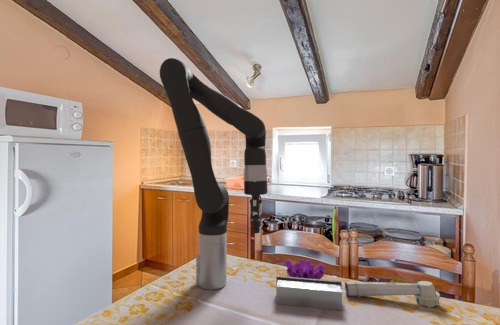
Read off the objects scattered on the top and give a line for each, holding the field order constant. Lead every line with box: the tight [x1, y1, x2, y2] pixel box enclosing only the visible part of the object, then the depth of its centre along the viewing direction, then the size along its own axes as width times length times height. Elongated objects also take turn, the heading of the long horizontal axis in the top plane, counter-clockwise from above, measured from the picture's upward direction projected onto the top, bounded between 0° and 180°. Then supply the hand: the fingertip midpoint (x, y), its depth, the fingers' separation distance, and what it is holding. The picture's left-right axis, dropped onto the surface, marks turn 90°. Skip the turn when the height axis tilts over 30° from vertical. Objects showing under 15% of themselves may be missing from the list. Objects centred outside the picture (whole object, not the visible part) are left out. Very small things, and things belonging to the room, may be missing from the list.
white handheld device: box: [344, 279, 441, 308], centre depth 84 cm, size 5×7×25 cm
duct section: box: [275, 275, 343, 311], centre depth 82 cm, size 19×6×6 cm, turn 79°
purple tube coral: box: [284, 259, 326, 280], centre depth 95 cm, size 11×15×10 cm
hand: (256, 229), depth 90 cm, fingers open, 8 cm apart
